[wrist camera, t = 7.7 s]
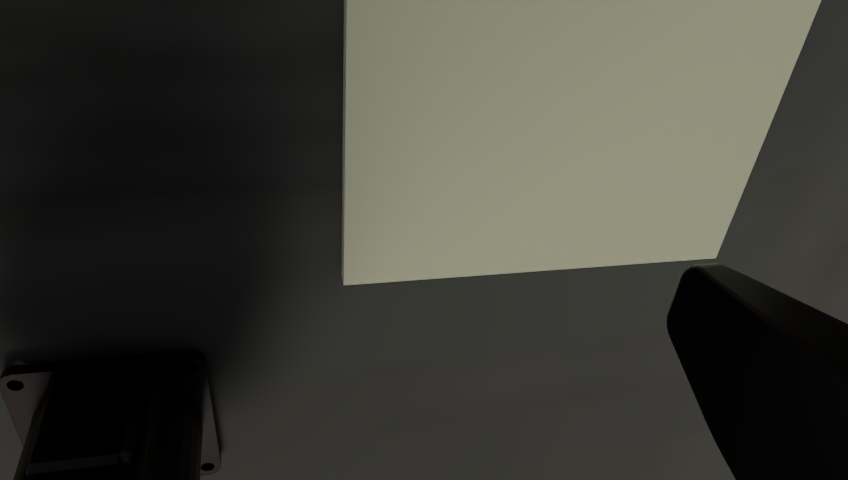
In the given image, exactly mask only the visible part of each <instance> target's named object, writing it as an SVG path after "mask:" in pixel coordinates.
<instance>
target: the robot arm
mask: <svg viewBox="0 0 848 480" xmlns="http://www.w3.org/2000/svg"><path fill="white" fill-rule="evenodd" d="M667 329H668V333H669V336H670V339H671V341H672V343H673V346H674V348H675V350H676V353H677V355H678V357H679V360H680V362H681V365H682V367H683V369H684V372H685V374H686V376H687V379H688V381H689V383H690V386H691V388H692V390H693V393H694V395H695V397H696V400H697V402H698V404H699V407H700V409H701V411H702V414H703V416H704V418H705V421H706V423H707V425H708V427H709V429H710V432H711V434H712V436H713V438H714V440H715V442H716V444H717V446H718V448H719V450H720V452H721V453H722V455H723V457H724V459H725V461H726V463H727V465H728V466H729V468H730V470H731V472H732V474H733V475H734V477H735V479H736V480H848V324H846V323H844V322H842V321H840V320H838V319H836V318H834V317H832V316H830V315H828V314H826V313H823V312H821V311H819V310H817V309H815V308H813V307H811V306H809V305H807V304H805V303H802V302H800V301H798V300H796V299H794V298H792V297H790V296H788V295H786V294H784V293H782V292H779V291H777V290H775V289H773V288H771V287H769V286H767V285H765V284H763V283H761V282H759V281H756V280H754V279H752V278H750V277H748V276H746V275H744V274H742V273H740V272H738V271H735V270H733V269H731V268H729V267H727V266H725V265H722V264H718V263H711V264H699V265H692V266H689V267H687V268H686V269H685V270H684V271H683V273H682V275H681V277H680V280H679V283H678V286H677V289H676V292H675V295H674V297H673V300H672V303H671V306H670V309H669V312H668V315H667ZM187 364H195V365H193V366H189V365H187ZM13 380H18V381H20V382H16V381H13ZM0 392H1V395H2V397H3V399H4V402H5V404H6V407H7V409H8V411H9V414H10V416H11V419H12V421H13V423H14V426H15V428H16V431H17V433H18V435H19V438H20V440H21V443H22V445H23V450H22V453H21V457H20V460H19V463H18V466H17V470H16V473H15V476H14V479H13V480H200V476H204V475H210V474H214V473H216V472H218V471H219V470H220V468H221V452H220V446H219V439H218V433H217V426H216V420H215V413H214V407H213V400H212V394H211V387H210V380H209V374H208V367H207V361H206V358H205V355H203V354H202V353H201V352H198V351H192V350H188V351H177V352H166V353H155V354H143V355H132V356H121V357H110V358H98V359H87V360H76V361H65V362H53V363H42V364H31V365H20V366H12V367H8V368H6V369H5V370H3V372H2V374H1V376H0Z"/></svg>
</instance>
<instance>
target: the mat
mask: <svg viewBox="0 0 848 480" xmlns="http://www.w3.org/2000/svg"><path fill="white" fill-rule="evenodd" d="M820 2H821V0H344V55H343V172H342V279H343V285H356V284H369V283H383V282H397V281H410V280H424V279H438V278H451V277H465V276H478V275H492V274H506V273H519V272H533V271H547V270H560V269H574V268H588V267H601V266H615V265H629V264H642V263H656V262H670V261H683V260H697V259H711V258H716V256H717V254H718V252H719V249H720V247H721V244H722V242H723V239H724V237H725V234H726V232H727V230H728V227H729V225H730V222H731V220H732V217H733V215H734V212H735V210H736V208H737V205H738V203H739V200H740V198H741V195H742V193H743V190H744V188H745V186H746V183H747V181H748V178H749V176H750V173H751V171H752V168H753V166H754V164H755V161H756V159H757V156H758V154H759V151H760V149H761V146H762V144H763V142H764V139H765V137H766V134H767V132H768V129H769V127H770V124H771V122H772V120H773V117H774V115H775V112H776V110H777V107H778V105H779V102H780V100H781V98H782V95H783V93H784V90H785V88H786V85H787V83H788V80H789V78H790V76H791V73H792V71H793V68H794V66H795V63H796V61H797V58H798V56H799V54H800V51H801V49H802V46H803V44H804V41H805V39H806V36H807V34H808V32H809V29H810V27H811V24H812V22H813V19H814V17H815V14H816V12H817V10H818V7H819V5H820Z"/></svg>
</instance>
